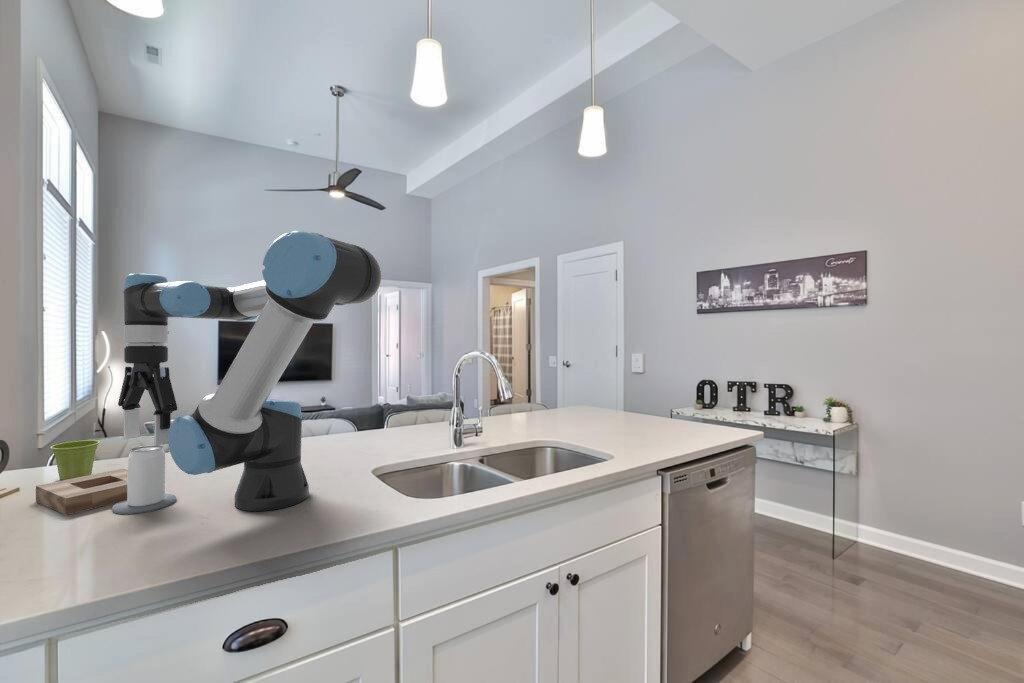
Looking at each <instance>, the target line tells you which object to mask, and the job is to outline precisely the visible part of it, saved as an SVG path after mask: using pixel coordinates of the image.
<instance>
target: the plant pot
mask: <svg viewBox="0 0 1024 683" xmlns="http://www.w3.org/2000/svg"><path fill="white" fill-rule="evenodd" d="M99 444H101V443H100V440H95V439H94V440H93V439H89V440H87V439H85V440H75V441H67V442H61V443H58V444H53V445H51V446H50V450H52V452H53V453H52V454H53V455H54V458H55V463H56V467H57V472H58V477H59V480H60V481H63V480H68V479H73V478H78V477H83V476H88V475H92V473H93V468H94V467H93V466H94V461H95V455H96V450H97V449H98V445H99Z"/></svg>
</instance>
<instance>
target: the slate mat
mask: <svg viewBox="0 0 1024 683" xmlns="http://www.w3.org/2000/svg"><path fill="white" fill-rule="evenodd" d="M176 501H177V496H176V495H175V494H171V493H165V498H164V499H163V501H161V502H159V503H157V504H154V505H150V506H144V507H131V506H129V505H128V504H127V500H124V501H121V502H117V503H114V504H113V505H112V507H111V508H112V509H111V511H112V513H114V514H117V515H135V514H143V513H147V512H148V513H149V512H153V511H156V510H161V509H163V508H167V507H169V506H170V505H171V506H172V505H173V504H174V503H176Z"/></svg>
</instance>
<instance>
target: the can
mask: <svg viewBox="0 0 1024 683" xmlns="http://www.w3.org/2000/svg"><path fill="white" fill-rule="evenodd" d="M163 447H164V446H163V445H158V446H155V445H154V444H153V445H152V444H151V445H143V446H137V447H134V448H130V453H129V455H128V456H127V470H128V476H127V504H128V505H129V506H131V507H144V506H150V505H154V504H157V503H159V502H161V501H163V499H164V498H165V494H166V492H165V491H166V452H165V451H164V449H163Z"/></svg>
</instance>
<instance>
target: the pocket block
mask: <svg viewBox="0 0 1024 683" xmlns="http://www.w3.org/2000/svg"><path fill="white" fill-rule="evenodd" d="M127 476H128V469H127V468H119V469H115V470H114V469H113V470H109V471H105V472H100V473H94V474H91V475H88V476H83V477H78V478H73V479H68V480H58V481H55V482H49V483H44V484H39V485H35V502H36V503H38V504H40V505H42V506H45V507H47V508H48V509H49V508H50V509H52V510H54V511H56V512H57V513H60V514H62V515H65V516H67V515H72V514H77V513H80V512H85V511H88V510H92V509H97V508H100V507H103V506H104V507H105V506H109V505H112V504H113V505H114V504H117V503H119V502H121V501H124V500H127Z"/></svg>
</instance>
